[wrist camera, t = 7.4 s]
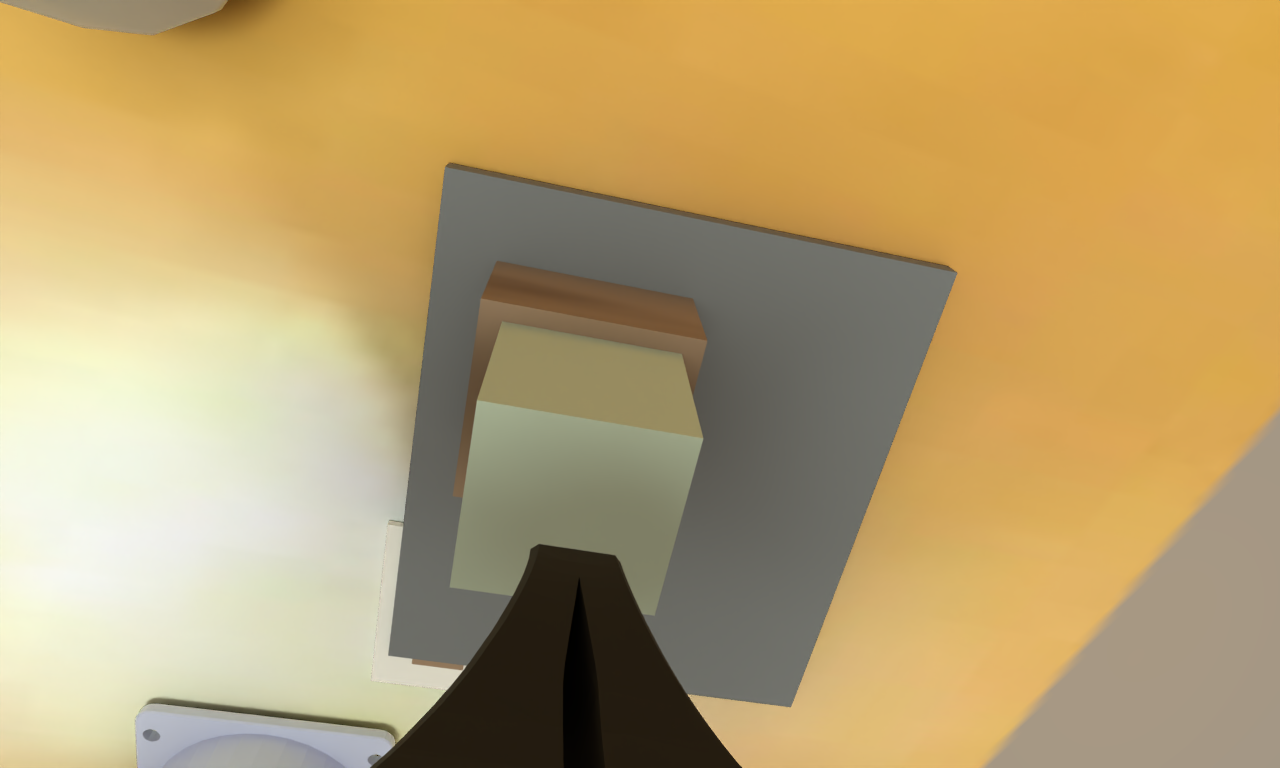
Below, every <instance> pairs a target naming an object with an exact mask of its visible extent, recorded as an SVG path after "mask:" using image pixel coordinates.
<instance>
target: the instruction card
mask: <svg viewBox="0 0 1280 768" xmlns="http://www.w3.org/2000/svg"><path fill="white" fill-rule="evenodd" d="M402 532H403V523H402V522H395V521H389V522H388V526H387V535H386V544H385V554H384V563H383V572H382V582H381V591H380V600H379V610H378V619H377V628H376V637H375V647H374V656H373V665H372V675H371V681H377V682H385V683H393V684H401V685H409V686H417V687H425V688H434V689H442V690H448V688H449V687H450V686H451V685H452V684H453V682H454V681H455V680H456V679H457V678H458V676H459V675H460V674H461V672H462V671H463V670H464V669H465V667H466V666H465V665H457V664H449V663H441V662H433V661H426V660H418V659H410V658H402V657H394V656H388V652H389V643H390V635H391V626H392V618H393V609H394V600H395V592H396V583H397V575H398V566H399V558H400V549H401V541H402Z"/></svg>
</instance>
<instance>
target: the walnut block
mask: <svg viewBox="0 0 1280 768" xmlns="http://www.w3.org/2000/svg"><path fill="white" fill-rule="evenodd" d="M502 321H503V322H509V323H514V324H520V325H525V326H531V327H536V328H542V329H547V330H553V331H558V332H564V333H569V334H575V335H580V336H586V337H591V338H597V339H602V340H608V341H613V342H619V343H624V344H630V345H635V346H640V347H646V348H651V349H657V350H662V351H668V352H673V353H679V354H682V357H683V360H684V364H685V368H686V372H687V376H688V380H689V384H690V388H691V392H692V396H693V394H694V390H695V386H696V382H697V378H698V375H699V371H700V367H701V363H702V360H703V356H704V352H705V348H706V345H707V338H706V335H705V332H704V329H703V326H702V324H701V321H700V318H699V315H698V312H697V309H696V306H695V303H694V300H693V298H687V297H682V296H677V295H672V294H667V293H662V292H656V291H651V290H646V289H641V288H636V287H631V286H625V285H620V284H615V283H610V282H605V281H600V280H594V279H589V278H584V277H579V276H574V275H568V274H563V273H558V272H553V271H548V270H543V269H537V268H532V267H527V266H522V265H517V264H512V263H506V262H501V261H496V264H495V266H494V269H493V271H492V273H491V276H490V278H489V280H488V283H487V285H486V288H485V290H484V292H483V295H482V297H481V301H480V308H479V315H478V322H477V329H476V336H475V343H474V350H473V357H472V364H471V371H470V378H469V385H468V392H467V399H466V406H465V413H464V420H463V427H462V434H461V441H460V448H459V455H458V462H457V469H456V476H455V483H454V490H453V496H455V497H461V498H463V492H464V485H465V479H466V472H467V465H468V458H469V451H470V445H471V438H472V431H473V424H474V417H475V411H476V404H477V399H478V396H479V392H480V389H481V386H482V383H483V380H484V377H485V374H486V370H487V367H488V364H489V361H490V358H491V355H492V352H493V348H494V345H495V342H496V339H497V336H498V333H499V330H500V326H501V323H502Z"/></svg>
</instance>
